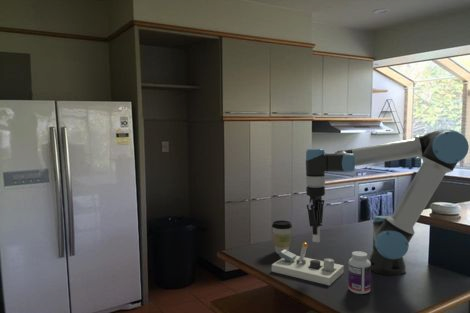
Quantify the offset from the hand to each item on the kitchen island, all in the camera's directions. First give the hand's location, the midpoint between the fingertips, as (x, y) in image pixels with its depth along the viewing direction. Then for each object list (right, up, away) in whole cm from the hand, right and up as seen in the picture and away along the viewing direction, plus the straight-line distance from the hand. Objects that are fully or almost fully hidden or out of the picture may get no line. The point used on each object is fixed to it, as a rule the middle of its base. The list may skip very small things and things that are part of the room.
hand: (316, 241), depth 160 cm
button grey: (+5, -11, -2) cm, 12 cm away
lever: (-6, -10, +5) cm, 12 cm away
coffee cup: (-11, -12, +28) cm, 33 cm away
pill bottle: (+13, -15, -15) cm, 25 cm away
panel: (-3, -14, +3) cm, 14 cm away
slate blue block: (-11, -8, +8) cm, 16 cm away
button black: (0, -13, +1) cm, 13 cm away
